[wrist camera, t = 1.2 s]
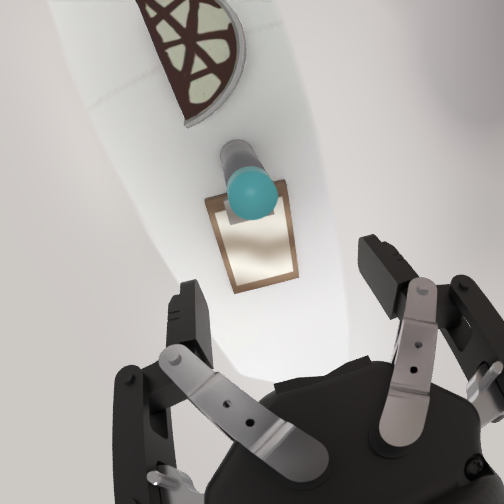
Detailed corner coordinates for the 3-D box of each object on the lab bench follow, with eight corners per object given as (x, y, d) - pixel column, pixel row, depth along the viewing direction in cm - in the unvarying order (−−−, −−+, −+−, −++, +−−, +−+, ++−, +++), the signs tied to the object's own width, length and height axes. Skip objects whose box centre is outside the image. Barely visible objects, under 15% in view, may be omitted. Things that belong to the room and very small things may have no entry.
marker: (216, 143, 28) (223, 182, 20) (249, 135, 28) (273, 170, 20) (224, 174, 30) (235, 225, 22) (256, 166, 30) (281, 213, 22)
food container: (251, 92, 26) (274, 102, 18) (192, 113, 26) (187, 133, 18) (211, -13, 19) (216, -49, 10) (149, 10, 19) (125, -17, 11)
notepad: (204, 199, 32) (204, 206, 30) (284, 179, 32) (288, 185, 30) (233, 290, 40) (235, 299, 39) (297, 273, 40) (301, 282, 39)
